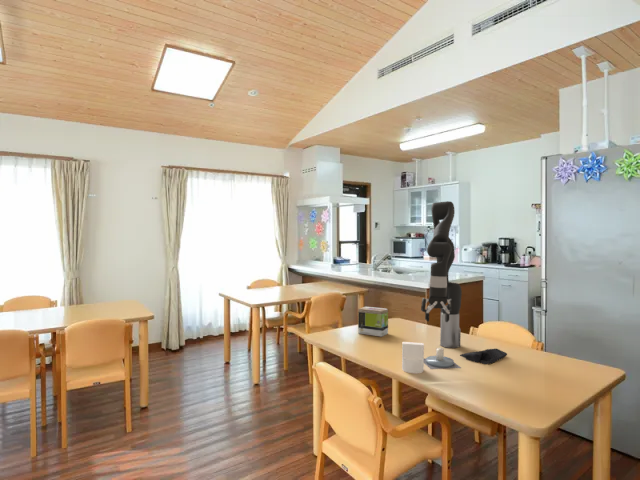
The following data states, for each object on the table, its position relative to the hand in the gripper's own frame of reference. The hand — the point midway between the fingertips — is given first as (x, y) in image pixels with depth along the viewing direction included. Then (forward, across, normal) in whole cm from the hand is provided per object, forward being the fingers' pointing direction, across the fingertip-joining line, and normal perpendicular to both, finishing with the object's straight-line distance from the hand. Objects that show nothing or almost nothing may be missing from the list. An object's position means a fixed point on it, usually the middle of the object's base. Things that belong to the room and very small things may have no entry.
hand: (437, 321), depth 186 cm
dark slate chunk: (+19, -25, -8) cm, 33 cm away
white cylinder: (+20, +13, +11) cm, 26 cm away
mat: (+19, -1, +2) cm, 19 cm away
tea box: (+19, +22, -52) cm, 59 cm away
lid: (+18, -1, +2) cm, 18 cm away
